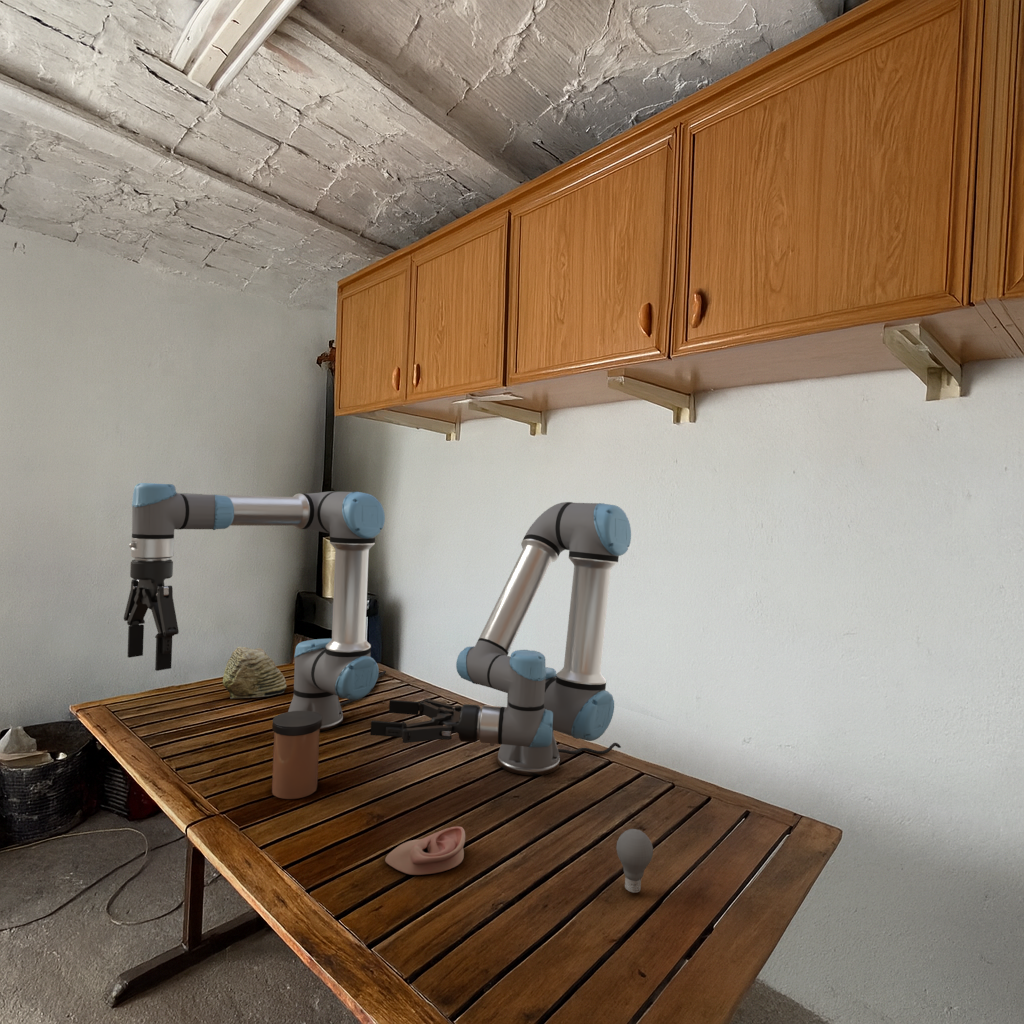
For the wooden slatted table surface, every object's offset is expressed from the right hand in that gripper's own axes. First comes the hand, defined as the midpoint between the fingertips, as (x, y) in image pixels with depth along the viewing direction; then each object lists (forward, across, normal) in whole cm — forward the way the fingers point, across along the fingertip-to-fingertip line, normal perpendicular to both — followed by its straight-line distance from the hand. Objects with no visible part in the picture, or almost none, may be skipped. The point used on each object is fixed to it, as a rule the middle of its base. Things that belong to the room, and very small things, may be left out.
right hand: (380, 716), depth 135 cm
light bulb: (-51, -26, -17) cm, 60 cm away
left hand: (+46, -10, +11) cm, 48 cm away
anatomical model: (-15, -22, -17) cm, 32 cm away
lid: (+18, 0, -2) cm, 18 cm away
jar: (+18, 0, -17) cm, 25 cm away
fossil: (+57, +58, -17) cm, 83 cm away
